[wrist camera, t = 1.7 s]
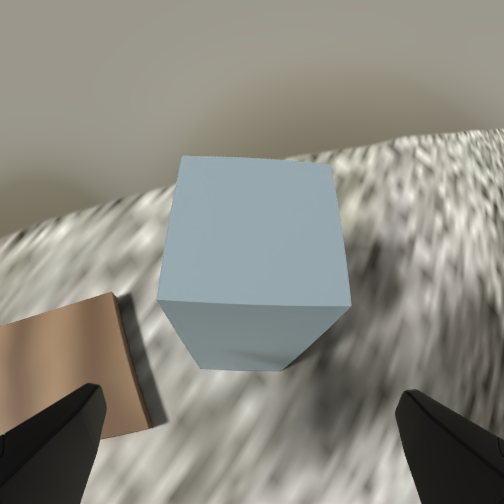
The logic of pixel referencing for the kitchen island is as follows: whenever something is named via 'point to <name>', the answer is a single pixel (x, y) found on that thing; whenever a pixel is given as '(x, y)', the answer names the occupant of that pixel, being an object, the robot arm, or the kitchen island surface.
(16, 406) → the tan flat board
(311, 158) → the kitchen island surface
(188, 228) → the slate-blue post
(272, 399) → the kitchen island surface
